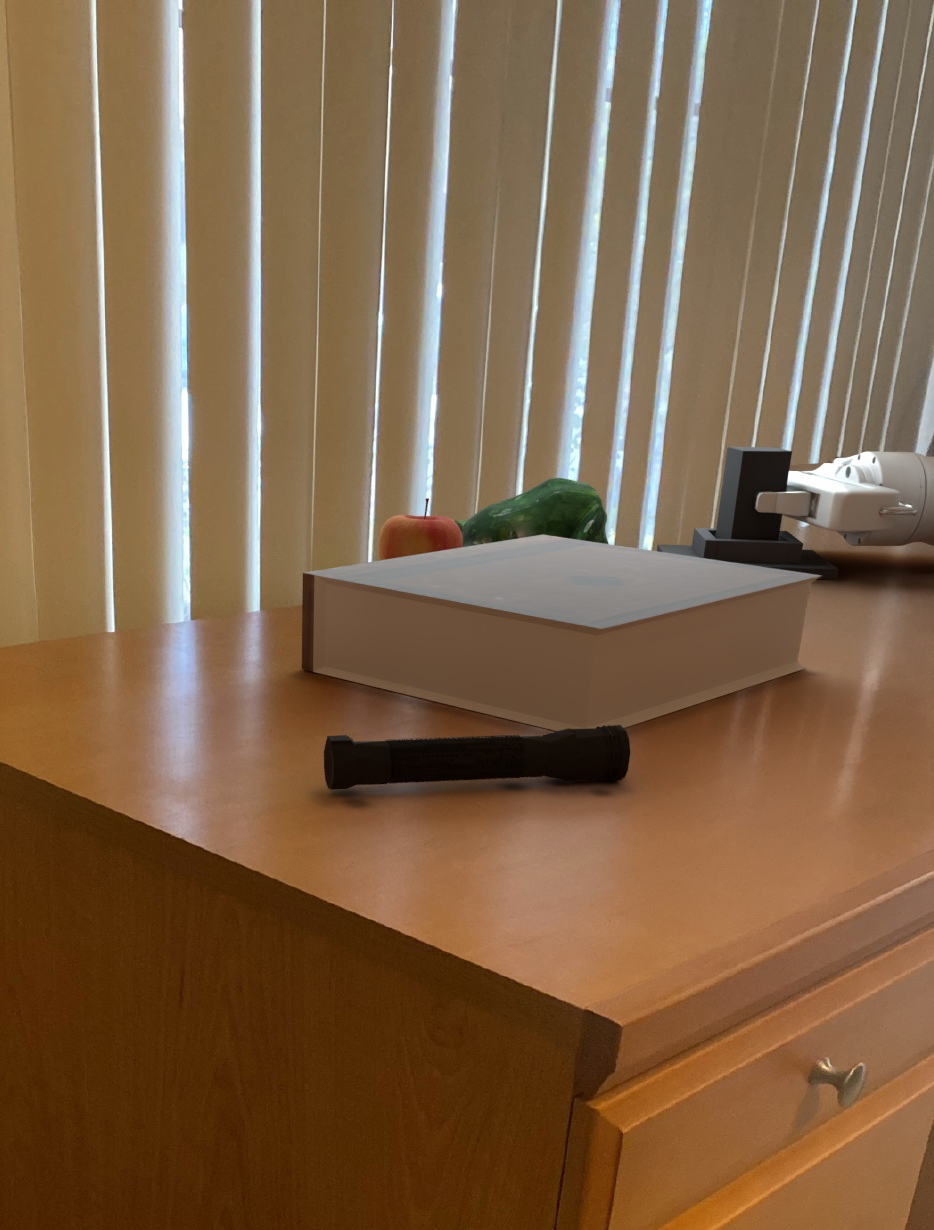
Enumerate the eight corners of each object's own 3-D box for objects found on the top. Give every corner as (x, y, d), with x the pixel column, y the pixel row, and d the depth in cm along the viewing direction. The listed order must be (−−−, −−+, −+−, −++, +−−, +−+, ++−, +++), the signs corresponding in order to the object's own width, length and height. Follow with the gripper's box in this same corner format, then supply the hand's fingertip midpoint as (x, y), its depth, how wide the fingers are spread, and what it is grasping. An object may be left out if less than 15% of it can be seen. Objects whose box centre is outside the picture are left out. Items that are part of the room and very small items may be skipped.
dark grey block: (759, 553, 148) (775, 447, 143) (775, 559, 144) (792, 451, 140) (712, 553, 147) (727, 446, 142) (727, 559, 144) (743, 450, 139)
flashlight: (627, 787, 80) (633, 733, 78) (333, 800, 76) (334, 743, 75) (606, 771, 82) (612, 718, 81) (322, 783, 79) (323, 728, 78)
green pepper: (580, 533, 144) (432, 541, 142) (595, 448, 138) (441, 455, 135) (619, 611, 136) (463, 621, 134) (637, 524, 129) (473, 533, 127)
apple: (369, 601, 126) (372, 503, 122) (385, 586, 132) (388, 493, 128) (453, 606, 124) (458, 507, 120) (465, 591, 131) (471, 497, 127)
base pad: (811, 559, 151) (816, 529, 150) (836, 579, 141) (842, 547, 139) (656, 554, 152) (659, 524, 151) (669, 573, 142) (673, 541, 140)
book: (301, 669, 103) (302, 572, 99) (535, 617, 121) (542, 534, 118) (589, 739, 88) (601, 629, 85) (806, 668, 106) (822, 575, 103)
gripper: (920, 548, 137) (783, 548, 135) (824, 519, 155) (701, 518, 153) (934, 477, 134) (794, 475, 132) (835, 455, 152) (710, 453, 150)
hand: (743, 498), depth 143 cm, fingers closed on dark grey block, 4 cm apart
